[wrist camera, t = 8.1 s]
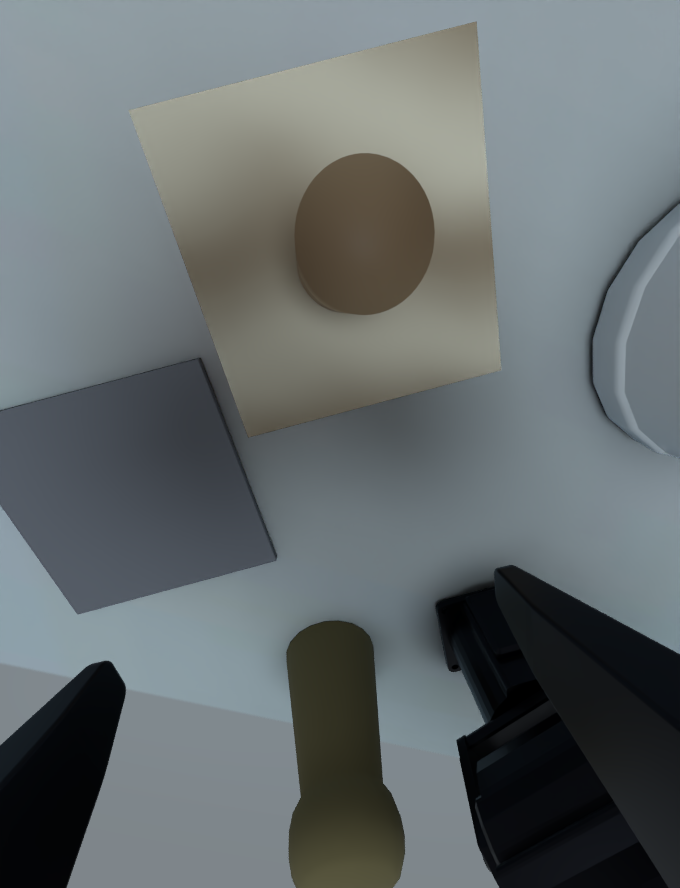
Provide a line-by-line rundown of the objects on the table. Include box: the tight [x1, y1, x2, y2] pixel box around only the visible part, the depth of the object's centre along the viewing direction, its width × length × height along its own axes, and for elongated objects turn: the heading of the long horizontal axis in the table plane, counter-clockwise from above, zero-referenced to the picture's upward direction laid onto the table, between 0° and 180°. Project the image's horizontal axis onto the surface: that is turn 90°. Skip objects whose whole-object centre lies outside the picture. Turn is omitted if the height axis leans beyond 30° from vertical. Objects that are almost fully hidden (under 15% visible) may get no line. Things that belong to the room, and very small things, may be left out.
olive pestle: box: [286, 621, 405, 888], centre depth 20 cm, size 6×6×11 cm
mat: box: [0, 358, 277, 614], centre depth 19 cm, size 12×12×1 cm
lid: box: [129, 22, 501, 438], centre depth 10 cm, size 10×10×5 cm
